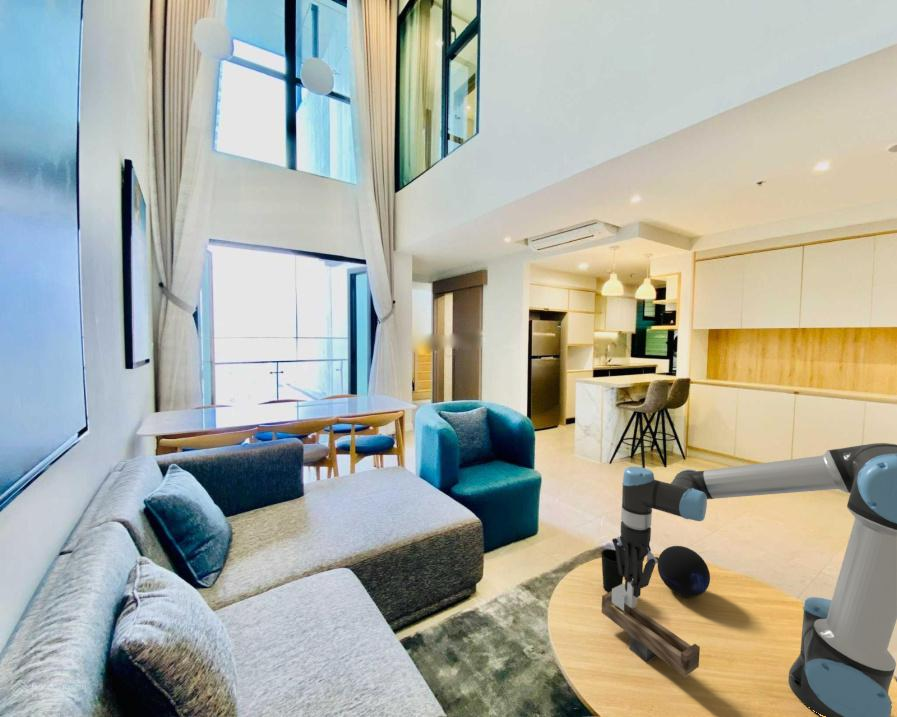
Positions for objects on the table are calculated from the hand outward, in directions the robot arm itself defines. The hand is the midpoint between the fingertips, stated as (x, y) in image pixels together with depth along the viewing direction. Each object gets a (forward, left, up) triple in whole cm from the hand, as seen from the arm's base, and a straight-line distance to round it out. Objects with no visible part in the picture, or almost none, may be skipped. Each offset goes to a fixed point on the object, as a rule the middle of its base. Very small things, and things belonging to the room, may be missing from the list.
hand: (631, 604), depth 106 cm
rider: (+3, 0, -4) cm, 5 cm away
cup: (+17, -14, -11) cm, 24 cm away
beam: (-4, 0, -10) cm, 11 cm away
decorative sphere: (+4, -34, -11) cm, 36 cm away
